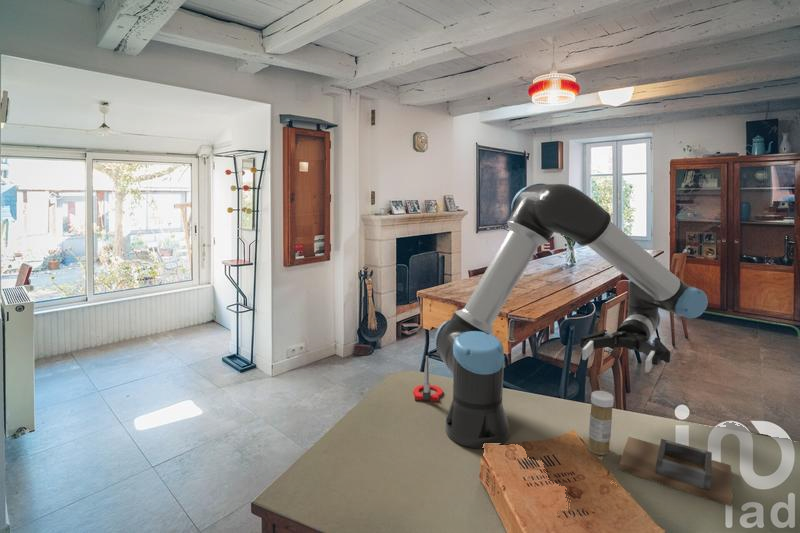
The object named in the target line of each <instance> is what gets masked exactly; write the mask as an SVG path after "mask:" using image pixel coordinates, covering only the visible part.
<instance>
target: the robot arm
mask: <svg viewBox="0 0 800 533" xmlns="http://www.w3.org/2000/svg"><path fill="white" fill-rule="evenodd" d="M510 207H511V208H510V210H511V215H510V217H509V218H508V219H507V221H506V223H507V227H508V231H507V233H506V235H505V237H504V238H503V240H502V242H501V244H500V246H499V247H498V249H497V250H496V252H495V254H494V256H493V258H492V259H491V261H490V263H489V264H488V266H487V268H486V269H485V272H484V273H483V275H482V276H481V278H480V280H479V281H478V283H477V285H476V286H475V289H474V290H473V292H472V293H471V296H470V297H469V298H468V300H467V302H466V304H465V306H464V307H463V308H461V309H458V310H455V312H453V315H452V317H451V318H450V319H448V320H445V321H444V322H443V323H442V324H441V325H440V326H439V327H438V328H437V330H436V332H435V336H434V346H435V350H436V351H437V355H438V357H439V358H440V359H441V361H442V362H443V363H444V364H445V366H446V367H447V368H448V370H449V371H450V372H451V374H452V376H453V378H452V381H453V382H452V383H453V385H452V387H453V388H452V389H453V390H452V401H451V403H450V406H449V410H448V413H447V415H446V417H445V433H446V435H447V436H448V437H449V438H450V439H451V440H452V441H453V442H455V443H457V444H458V445H461V446H464V447H466V448H471V449H481V450H482V447H483V444H484V443H503V444H504V443H505V442H506V441H507V440H508V439H509V436H510V435H509V434H510V433H509V432H510V424H509V421H508V417H507V415H506V412H505V409H504V404H503V393H504V390H503V388H504V365H505V364H504V363H505V359H506V358H505V351H504V350H505V349H504V345H503V342H502V341H501V340H500V339H499V338H498V337H497V336H494V335H495V332H494V328H493V324H494V323H495V321H496V319H497V318H498V316H499V314H500V313H501V311H502V309H503V307H504V306H505V304H506V302H508V301H507V300H509V297H510V296H511V294H512V292H513V290H514V289H515V287H516V285H517V284H518V282H519V280H520V279H521V277H522V275H523V274H524V272H525V270H526V268H527V267H528V265H529V264H530V261H531V259H532V258H533V256H534V255H535V253H536V251H537V250H538V249H539V247H540V246H543V245H546V244H548V242H549V241H550V239H551V238H552V237H553V234H554V233H556V234H559V235H562V236H565V237H567V238H569V239H570V240H573V241H574V242H576V244H578V245H579V246H581V247H582V246H583V247H584V246H585V247H586V246H587V247H589V249H591V250H592V251H593V252H595V253H596V254H597V255H598V256H600V257H601V258H603V259H604V260H605V261H607V263H609V264H610V265H611V266H613V267H614V268H615V269H616V270H617V271H619V272H620V273H621V274H622V275H623V276H625V277H627V279H628V281H627V282H628V305H627V318H625V320H623V322H622V323H621V324H620V325H619V327H618V328H617V330H616V331H615V332H612V333H610V332H609V333H608V330H607V329H602V330H600V331H598V332H594V333H591V334H587V335H583V336H580V337H579V347H580V348H582V349H581V353H582V354H581V357H582V358H581V360H583V361H586V360H588V358H589V357H590V356H591V355H592V354H593V352H594V350H596V349H602V348H603V349H604V348H609V347H611V348H614V349H616V348H624V349H625V348H626V349H627V350H632V351H636V352H638V353H643V354H644V355H646V359H645V363H644V364H645V366H644V373H649V372H650V371H651V369H652V368H653V366H658V365H659V364H660V362H661V361H663V362H664V363H668V364H669V363H671V351H670V350H669V349H668V348H667V347H666V346H665V344H663V343H662V341H661V338H660V337H654V338H652V339H651V337H652V336H653V334H654V332H655V331H657V329H658V328H659V326H660V323H661V322H660V321H661V315H660V313H659V309H661V310H664V311H666V312H670V313H672V314H674V315H677V316H679V317H684V318H687V319H695V318H698V317H700V316H702V314H703V313H704V312H705V310H707V307H708V304H709V301H708V296H707V294H706V292H704V290H702V289H700V288H697V287H695V286H690V285H688V284H686V283H685V282H684V281H683V280H682V279H680V278H679V277H678V276H676V275H675V274H674V273H673V272H671V270H669V269H668V268H667V267H666V266H664V264H662V263H661V262H660V261H658V259H656V258H655V257H654V256H653V255H651V253H649V252H648V251H647V250H646V249H644V247H642V246H641V245H640V244H639V243H638V242H636V241H635V240H634V239H632V237H630V236H629V235H628V234H626V232H624V231H623V230H622V229H621V228H620V227H618V226H617V225H616V224H615V223H613V221H612V215H611V214H610V213H609V212H608V211H607V210H606V209H604V208H603V207H602V206H601V205H600V204H598V203H597V202H596V201H595V200H594V199H592V198H591V197H590V196H588V195H587V194H586V193H584V192H583V191H581V190H580V189H578V188H576V187H574V186H572V185H568V184H567V183H565V184H564V183H552V184H550V183H541V182H540V183H534V184H530V185H527V186H525V187H523V188H521V189H520V190H519V191H518V192H517V193H516V194H515V196H514V197H513V199H512V202H511V206H510Z"/></svg>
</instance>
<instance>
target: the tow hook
mask: <svg viewBox="0 0 800 533" xmlns="http://www.w3.org/2000/svg"><path fill="white" fill-rule="evenodd" d="M429 358H430V357H429V355H425V363H424V383H423V384H420V385H417V386H416V387H414V388H413V392H412V393H413V395H414V400H415V401H423V402H439V401H440V400H439V399H440V397H442V396H443V392H444V391H443V389H442V388H441V386H440V387H439V386H437V385H433V384H431V382H430V363H429ZM431 390H433V391H435V393H431ZM420 391H422V393H421V392H420Z"/></svg>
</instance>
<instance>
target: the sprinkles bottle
mask: <svg viewBox="0 0 800 533" xmlns="http://www.w3.org/2000/svg"><path fill="white" fill-rule="evenodd" d="M614 398H615V397H614V395H613V394H611V393H610V392H608V391H604V390H594V391H592V392H591V395H590V414H589V425H588V426H589V428H588V444H587V449H588V448H589V449H590V450H591V451H590V450H589V449H588V450H589V451H590V453H592V454H595V455H598V456H606V455H609V453H610V444H611V442H610V441H611V436H612V424H613V423H612V422H613V417H612V416H613V407H614V404H615V403H614V402H615V399H614Z"/></svg>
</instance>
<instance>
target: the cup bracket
mask: <svg viewBox="0 0 800 533" xmlns="http://www.w3.org/2000/svg"><path fill="white" fill-rule="evenodd" d="M712 455H713V452H712V451H709V450H708V451H707V450H705V449H700V448H697V447H693V446H690V445H685V444H682V443H679V442H675V441H671V440H667V439H664V438H661V439H660V443H659V444H657V443H652V442H649V441H646V440H642V439H638V438H635V437H632V436H627V440H626V442H625V446H624V449H623V452H622V455H621V458H620V460H619V465H618V470H619V471H621V470H623V471H622V472H624V471H626V472H625V473H627V472H629V473H628V474H631V475H634V476H638V477H640V478H643V479H646V478H647V479H646V480H649V479H650V480H649V481H652V480H653V482H655V481H657V482H656V483H658V482H660V483H659V484H662V483H663V484H662V485H665V484H666V485H665V486H668V487H671V486H672V487H671V488H675V489H677V490H681V491H684V492H687V493H689V494H693V495H696V496H700V497H702V498H704V499H709V500H711V501H715V502H718V503H719V504H720V503H721V504H724V505H727V506H730V507H732V505H733V483H732V466H731V464H727V463H724V462H721V461H717V460H714V459H712Z"/></svg>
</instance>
